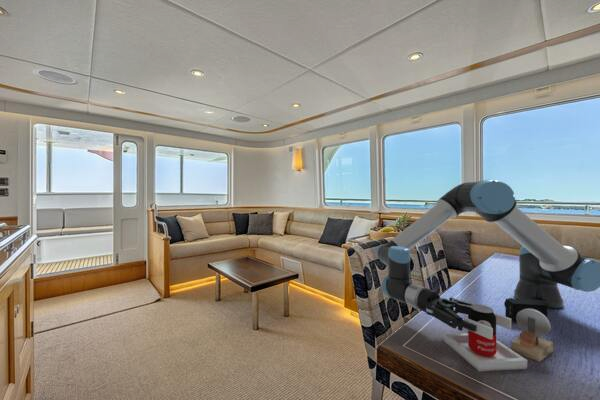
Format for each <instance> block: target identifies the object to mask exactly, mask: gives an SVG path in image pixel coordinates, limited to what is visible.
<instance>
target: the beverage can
mask: <svg viewBox="0 0 600 400" xmlns="http://www.w3.org/2000/svg"><path fill="white" fill-rule="evenodd" d="M473 304H474V305H471V308H470V309H469V311H468V315H467V318H468V319H470V320H473V321H476V322H478V323H481V324H483V325H486V326H489V327H491V328H493V339H492V340H491V339H488V338H486V337H484V336H481V335H479V334H477V333H474V332H472V331H470V330H467V332H468V345H469V347H470V348H471V350H473V352H475V353H476V354H478V355H481V356H485V357H491V356H493V355H495V354H496V340H497V324H496V316H495V314H494V313H495V312H494V309H493V308H492V307H490V306H487V305H484V304H478V303H473Z"/></svg>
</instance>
